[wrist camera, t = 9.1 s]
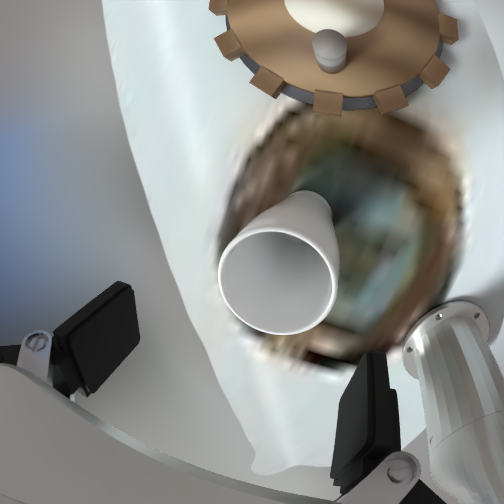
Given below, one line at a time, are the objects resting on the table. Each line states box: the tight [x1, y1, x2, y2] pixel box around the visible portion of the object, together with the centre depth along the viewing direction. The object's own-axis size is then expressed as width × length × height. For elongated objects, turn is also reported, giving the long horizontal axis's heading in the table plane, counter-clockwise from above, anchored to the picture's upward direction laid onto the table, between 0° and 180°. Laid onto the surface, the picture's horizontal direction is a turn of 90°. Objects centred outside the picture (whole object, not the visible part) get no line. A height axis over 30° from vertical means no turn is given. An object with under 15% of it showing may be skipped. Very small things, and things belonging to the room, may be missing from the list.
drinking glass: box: [218, 190, 340, 335], centre depth 22 cm, size 7×7×15 cm
